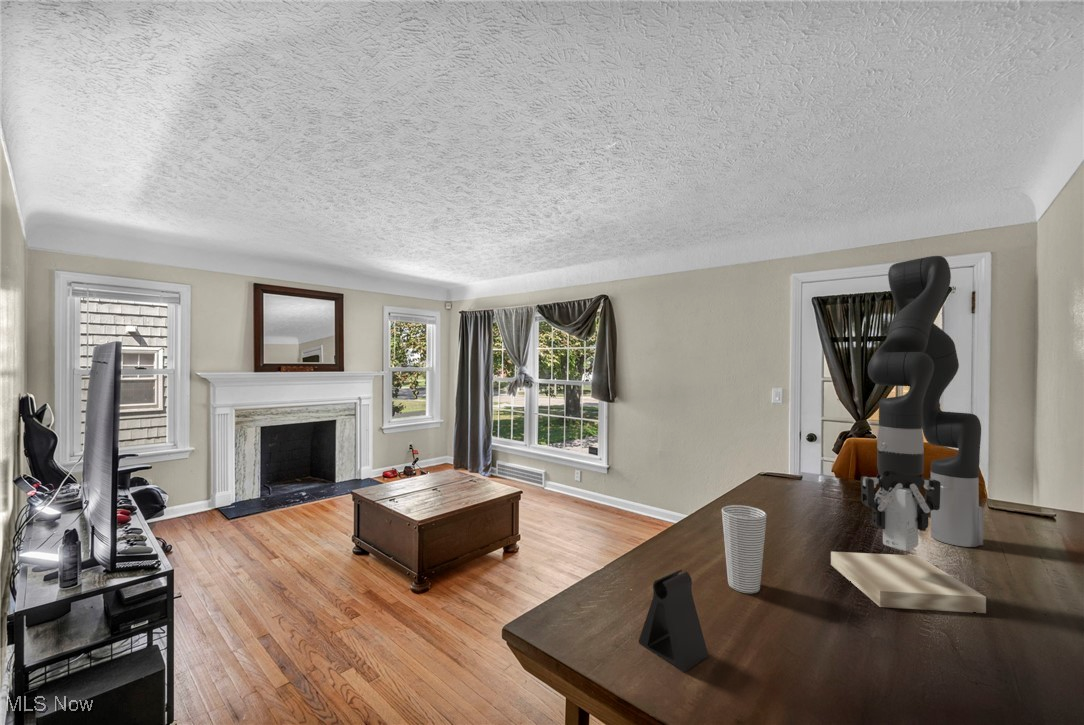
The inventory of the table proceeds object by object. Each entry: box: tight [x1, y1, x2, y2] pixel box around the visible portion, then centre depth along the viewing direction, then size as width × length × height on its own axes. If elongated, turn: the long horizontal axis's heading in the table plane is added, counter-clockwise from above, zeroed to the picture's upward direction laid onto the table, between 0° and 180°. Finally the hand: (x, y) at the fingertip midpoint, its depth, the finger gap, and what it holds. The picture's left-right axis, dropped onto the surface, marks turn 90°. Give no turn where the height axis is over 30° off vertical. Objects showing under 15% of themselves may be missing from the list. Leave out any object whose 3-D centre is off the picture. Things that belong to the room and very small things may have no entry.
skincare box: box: [882, 487, 919, 552], centre depth 93 cm, size 6×4×12 cm
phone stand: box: [638, 568, 709, 673], centre depth 72 cm, size 9×6×12 cm, turn 36°
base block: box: [830, 551, 987, 614], centre depth 93 cm, size 18×18×3 cm
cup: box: [721, 504, 767, 594], centre depth 93 cm, size 8×8×16 cm
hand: (899, 528), depth 93 cm, fingers closed on skincare box, 7 cm apart
